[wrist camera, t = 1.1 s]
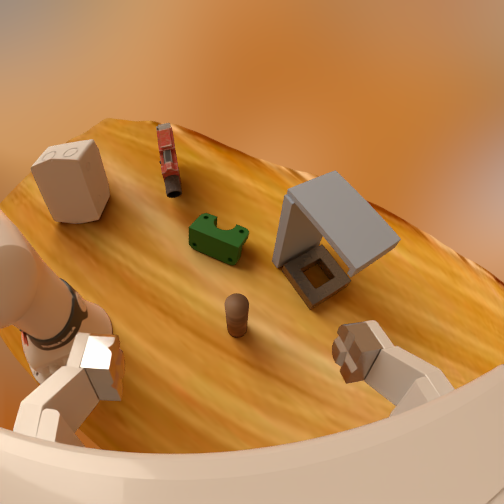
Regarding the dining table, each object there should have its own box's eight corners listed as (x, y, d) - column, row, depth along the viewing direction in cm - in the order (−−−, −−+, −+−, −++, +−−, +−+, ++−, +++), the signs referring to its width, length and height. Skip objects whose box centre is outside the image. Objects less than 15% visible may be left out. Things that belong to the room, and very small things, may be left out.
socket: (309, 309, 57) (312, 305, 55) (281, 271, 61) (283, 265, 59) (347, 286, 60) (351, 280, 58) (319, 250, 64) (322, 244, 62)
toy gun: (170, 213, 72) (161, 187, 58) (161, 147, 76) (153, 114, 62) (186, 210, 73) (180, 183, 58) (175, 145, 77) (169, 110, 62)
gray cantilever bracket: (316, 323, 55) (353, 270, 37) (272, 261, 62) (285, 190, 44) (357, 295, 59) (402, 237, 41) (313, 239, 66) (337, 169, 48)
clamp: (237, 257, 68) (257, 235, 61) (225, 274, 63) (245, 253, 57) (196, 224, 66) (211, 199, 60) (181, 239, 62) (196, 214, 56)
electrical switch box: (118, 186, 76) (102, 123, 60) (101, 223, 66) (76, 154, 51) (76, 189, 75) (56, 131, 60) (56, 224, 65) (28, 162, 50)
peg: (233, 340, 53) (232, 319, 43) (224, 324, 54) (220, 300, 44) (250, 331, 54) (253, 308, 44) (240, 316, 56) (241, 289, 45)
